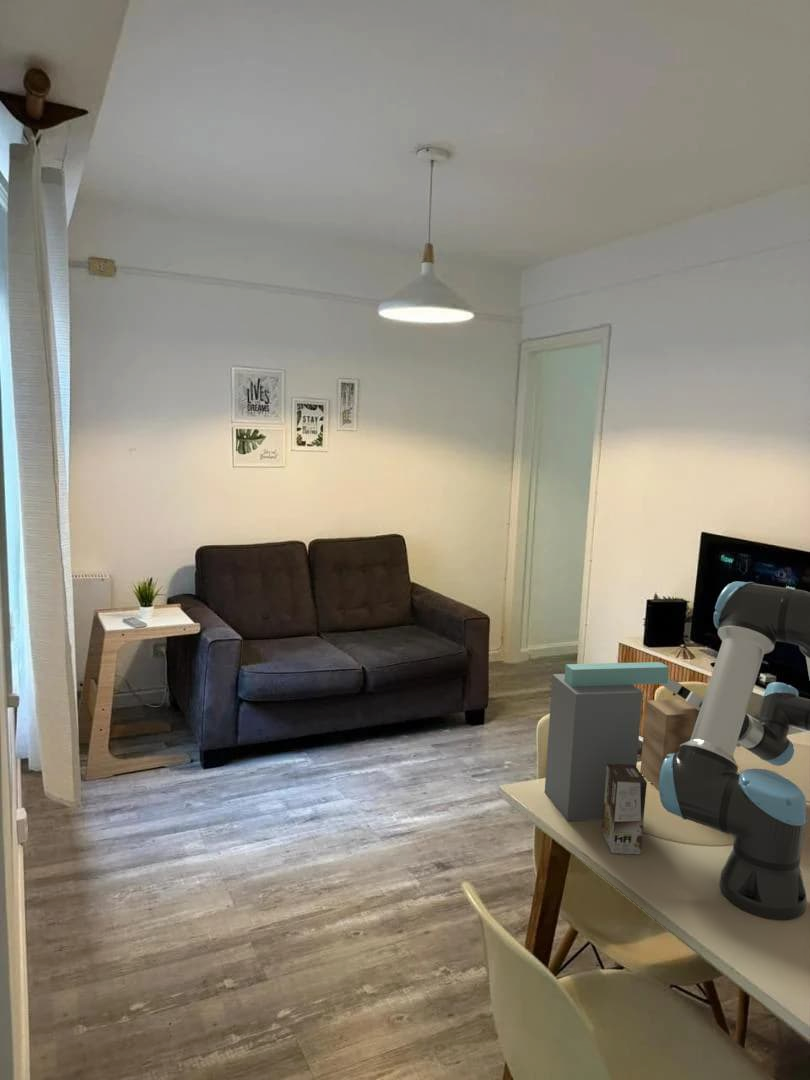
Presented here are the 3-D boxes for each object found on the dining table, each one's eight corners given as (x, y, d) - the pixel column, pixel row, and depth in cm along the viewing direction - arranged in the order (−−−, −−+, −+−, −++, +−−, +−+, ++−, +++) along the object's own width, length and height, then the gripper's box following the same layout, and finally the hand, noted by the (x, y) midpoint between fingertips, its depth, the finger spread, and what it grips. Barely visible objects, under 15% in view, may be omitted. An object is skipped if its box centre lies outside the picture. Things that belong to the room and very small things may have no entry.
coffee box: (641, 855, 160) (648, 782, 158) (611, 853, 160) (616, 781, 158) (630, 832, 169) (635, 763, 167) (600, 831, 169) (606, 762, 167)
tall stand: (605, 788, 190) (614, 672, 186) (632, 816, 176) (642, 692, 172) (544, 792, 187) (552, 674, 182) (567, 821, 173) (576, 694, 169)
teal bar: (658, 678, 182) (660, 661, 182) (667, 683, 179) (668, 667, 178) (564, 680, 178) (565, 664, 177) (571, 686, 174) (572, 669, 173)
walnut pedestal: (675, 772, 201) (681, 699, 198) (696, 789, 191) (703, 713, 188) (640, 774, 199) (646, 700, 196) (659, 792, 189) (666, 714, 186)
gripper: (762, 761, 175) (693, 719, 170) (701, 720, 199) (639, 682, 194) (780, 733, 174) (712, 690, 169) (717, 695, 199) (655, 657, 194)
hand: (673, 686), depth 182 cm, fingers open, 13 cm apart
